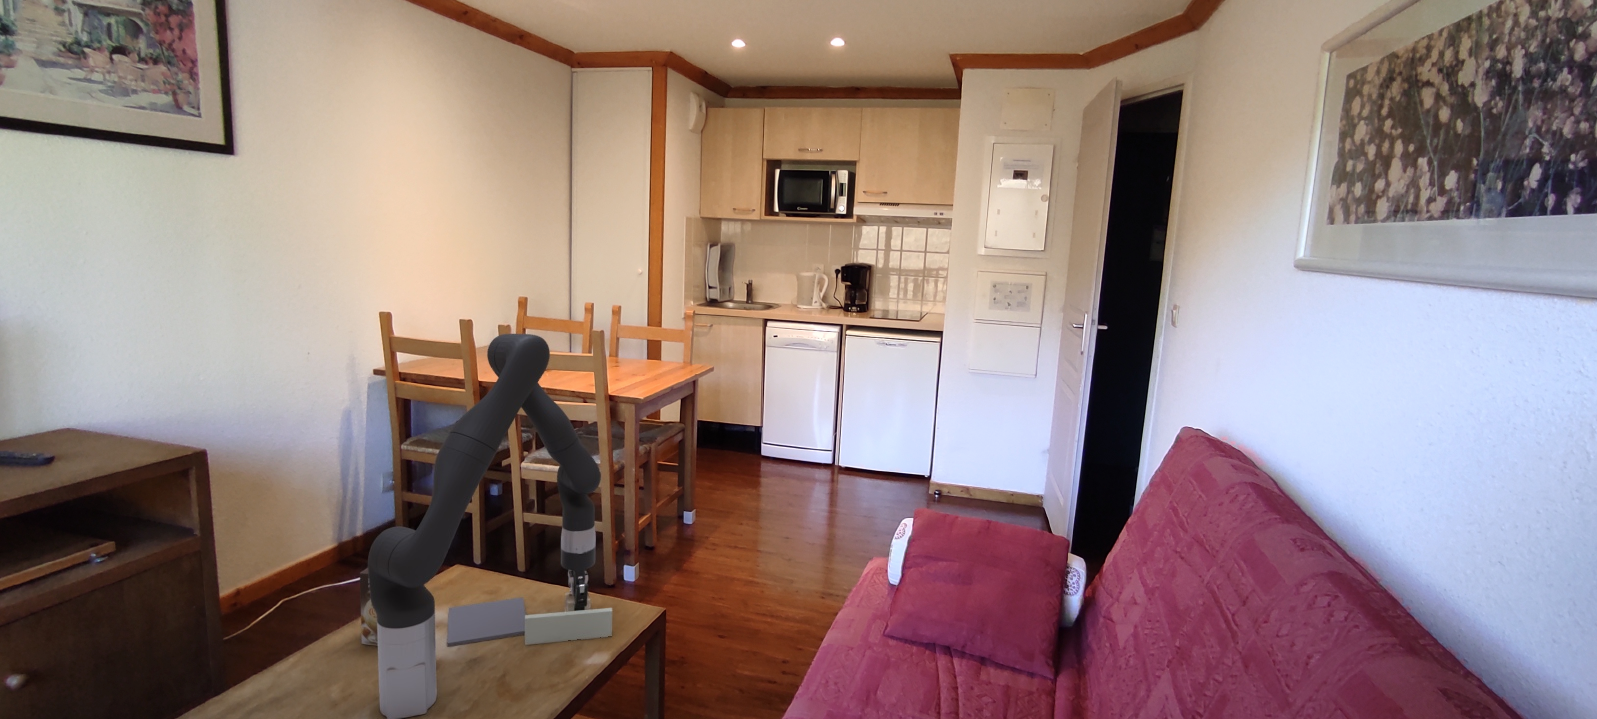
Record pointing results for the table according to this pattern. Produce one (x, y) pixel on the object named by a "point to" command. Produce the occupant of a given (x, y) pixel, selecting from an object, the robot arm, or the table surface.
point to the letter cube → (570, 600)
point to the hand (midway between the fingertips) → (577, 613)
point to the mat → (486, 621)
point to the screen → (568, 626)
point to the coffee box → (367, 612)
